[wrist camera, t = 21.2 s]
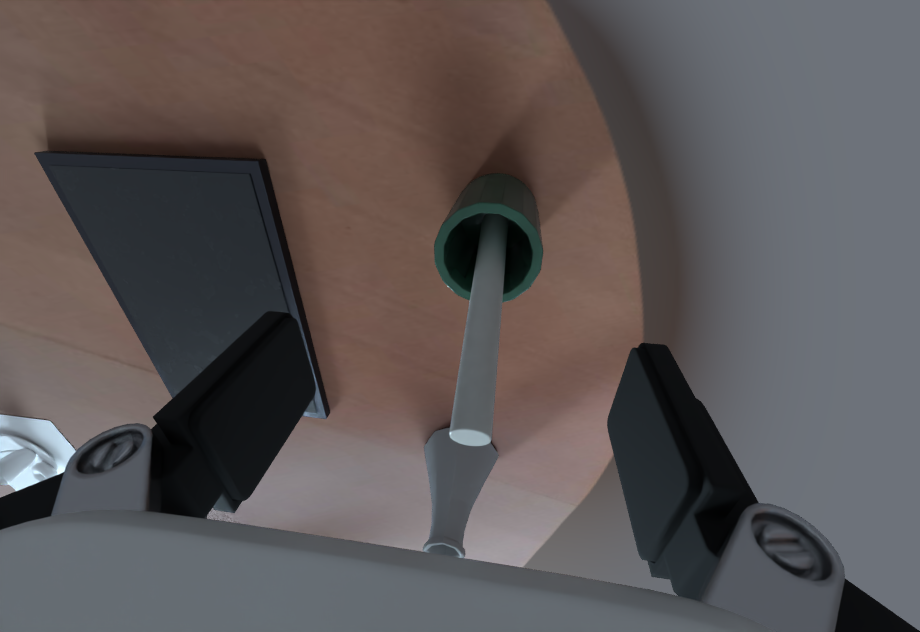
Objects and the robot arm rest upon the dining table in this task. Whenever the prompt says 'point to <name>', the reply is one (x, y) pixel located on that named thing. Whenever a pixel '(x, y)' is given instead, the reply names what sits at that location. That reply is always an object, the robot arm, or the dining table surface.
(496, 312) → the stylus
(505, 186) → the pen holder
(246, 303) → the tablet
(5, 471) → the teacup and saucer
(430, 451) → the flask
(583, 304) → the dining table surface
